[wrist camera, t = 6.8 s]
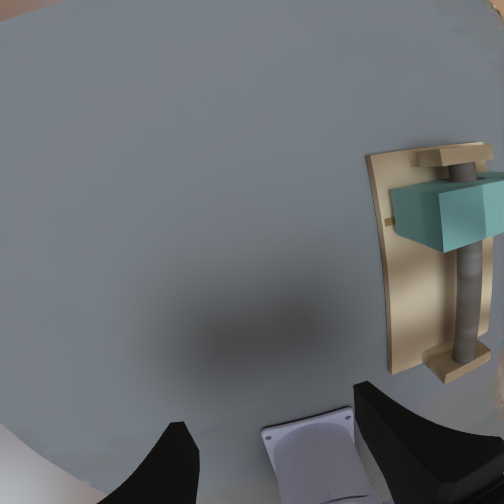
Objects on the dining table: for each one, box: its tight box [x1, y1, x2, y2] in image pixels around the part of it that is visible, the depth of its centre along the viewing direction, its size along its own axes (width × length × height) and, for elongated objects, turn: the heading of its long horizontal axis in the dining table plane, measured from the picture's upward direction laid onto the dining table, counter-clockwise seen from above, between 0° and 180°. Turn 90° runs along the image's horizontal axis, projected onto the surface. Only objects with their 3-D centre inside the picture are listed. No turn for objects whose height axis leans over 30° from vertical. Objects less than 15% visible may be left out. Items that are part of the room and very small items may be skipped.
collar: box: [390, 172, 504, 253], centre depth 16 cm, size 3×10×5 cm, turn 103°
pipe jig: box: [365, 142, 494, 384], centre depth 18 cm, size 17×11×5 cm, turn 13°
